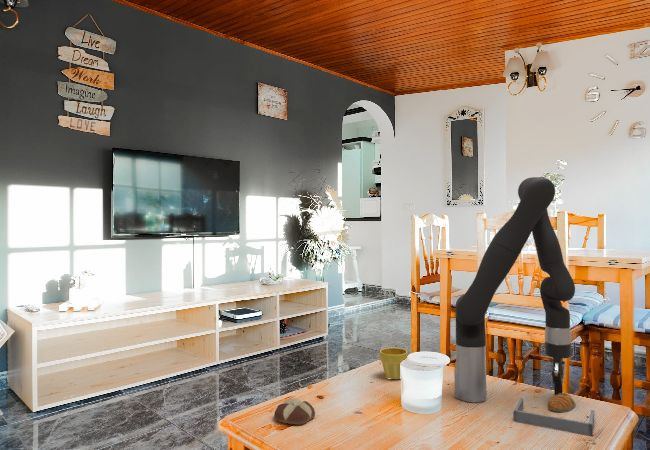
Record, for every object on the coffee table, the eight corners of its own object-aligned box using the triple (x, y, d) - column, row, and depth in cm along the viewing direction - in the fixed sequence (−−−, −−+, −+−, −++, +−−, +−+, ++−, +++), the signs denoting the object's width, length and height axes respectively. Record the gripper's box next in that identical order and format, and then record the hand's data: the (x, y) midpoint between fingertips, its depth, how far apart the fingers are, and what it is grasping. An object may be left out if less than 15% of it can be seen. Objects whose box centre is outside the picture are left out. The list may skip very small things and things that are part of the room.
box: (513, 421, 138) (513, 410, 138) (520, 408, 148) (520, 398, 148) (592, 436, 128) (592, 424, 128) (594, 420, 137) (594, 410, 137)
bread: (291, 408, 151) (291, 392, 151) (320, 417, 144) (320, 400, 144) (266, 421, 142) (266, 404, 142) (297, 430, 135) (296, 412, 135)
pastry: (564, 416, 142) (564, 403, 142) (541, 409, 147) (541, 397, 147) (577, 407, 148) (577, 395, 148) (554, 401, 153) (554, 389, 153)
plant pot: (374, 378, 178) (374, 351, 178) (389, 371, 186) (389, 345, 186) (398, 384, 171) (398, 356, 171) (413, 376, 179) (413, 350, 179)
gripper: (547, 335, 161) (548, 387, 161) (542, 343, 150) (542, 400, 150) (572, 337, 157) (573, 391, 157) (569, 346, 146) (570, 404, 146)
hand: (558, 395), depth 154 cm, fingers closed
